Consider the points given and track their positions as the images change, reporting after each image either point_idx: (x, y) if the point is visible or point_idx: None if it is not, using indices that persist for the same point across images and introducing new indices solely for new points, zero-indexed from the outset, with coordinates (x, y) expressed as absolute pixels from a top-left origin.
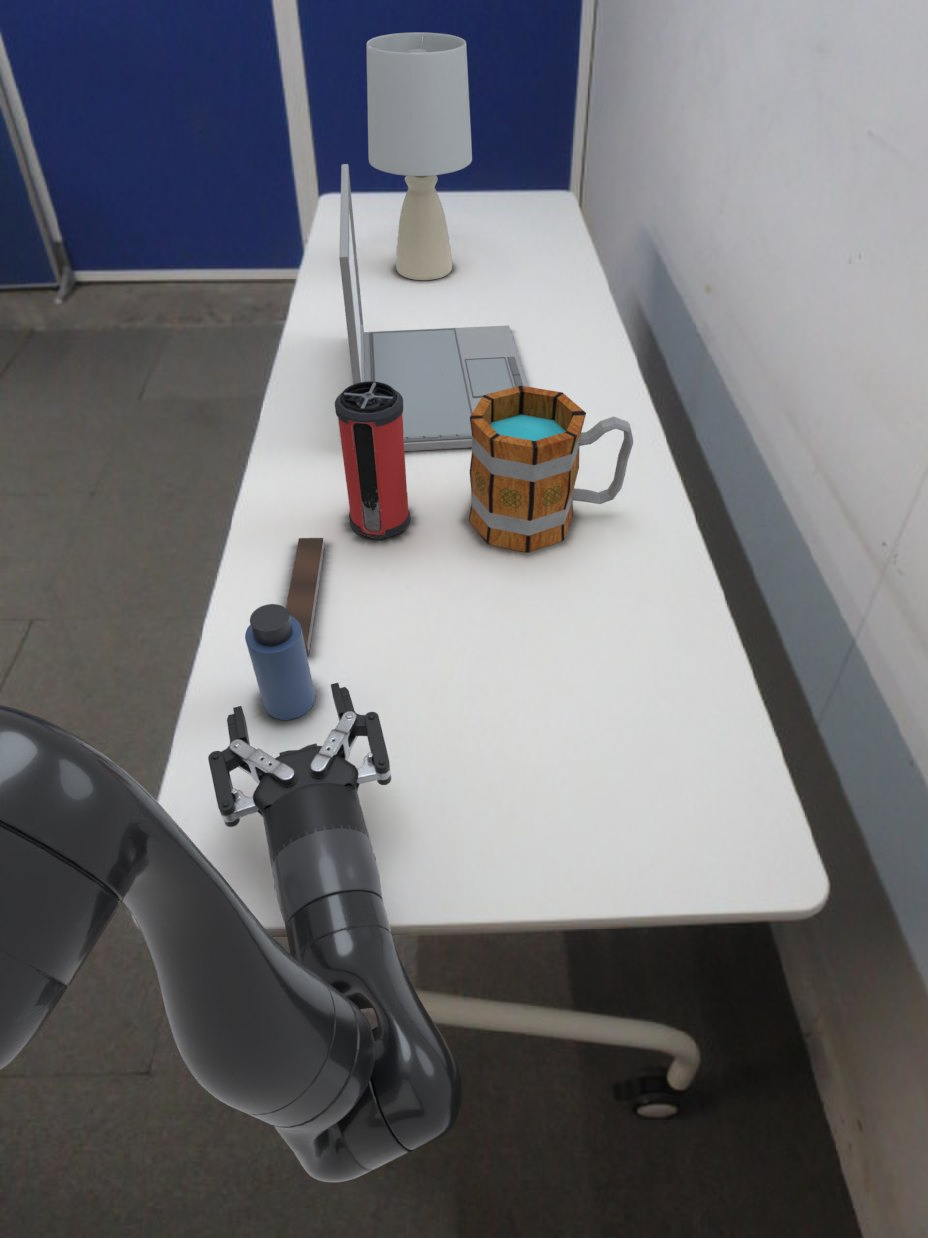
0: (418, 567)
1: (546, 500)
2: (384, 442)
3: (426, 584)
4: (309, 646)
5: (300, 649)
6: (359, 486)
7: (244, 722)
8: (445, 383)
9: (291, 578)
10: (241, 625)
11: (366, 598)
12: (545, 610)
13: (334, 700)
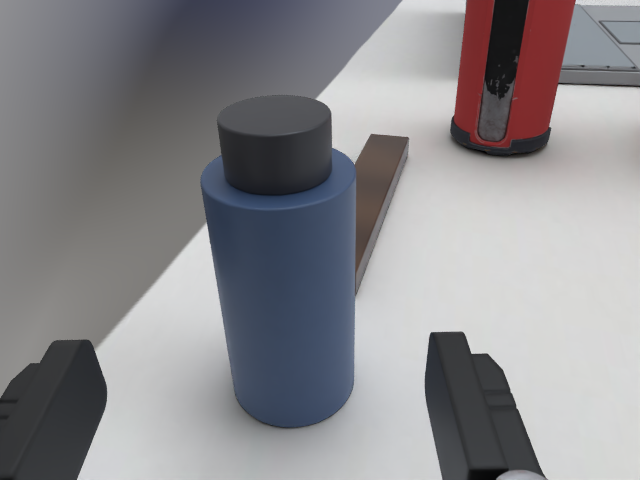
0: (572, 196)
1: None
2: None
3: (593, 221)
4: (359, 280)
5: (342, 230)
6: (487, 50)
7: (68, 406)
8: (578, 32)
9: None
10: None
11: (476, 225)
12: None
13: (438, 399)
